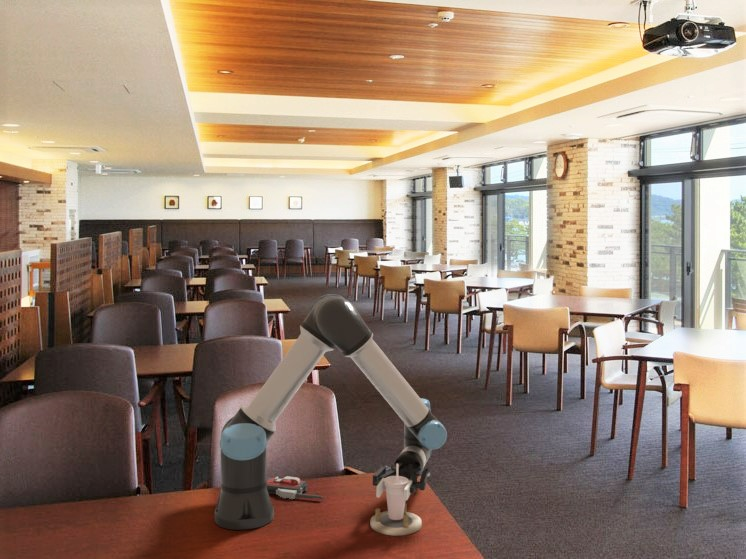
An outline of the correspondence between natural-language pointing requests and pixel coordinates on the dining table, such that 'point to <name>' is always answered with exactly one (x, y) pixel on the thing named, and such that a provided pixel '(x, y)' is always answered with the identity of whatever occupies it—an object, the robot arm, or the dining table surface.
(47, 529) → the dining table surface
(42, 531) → the dining table surface
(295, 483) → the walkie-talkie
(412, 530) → the cup holder base
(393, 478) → the smoothie
